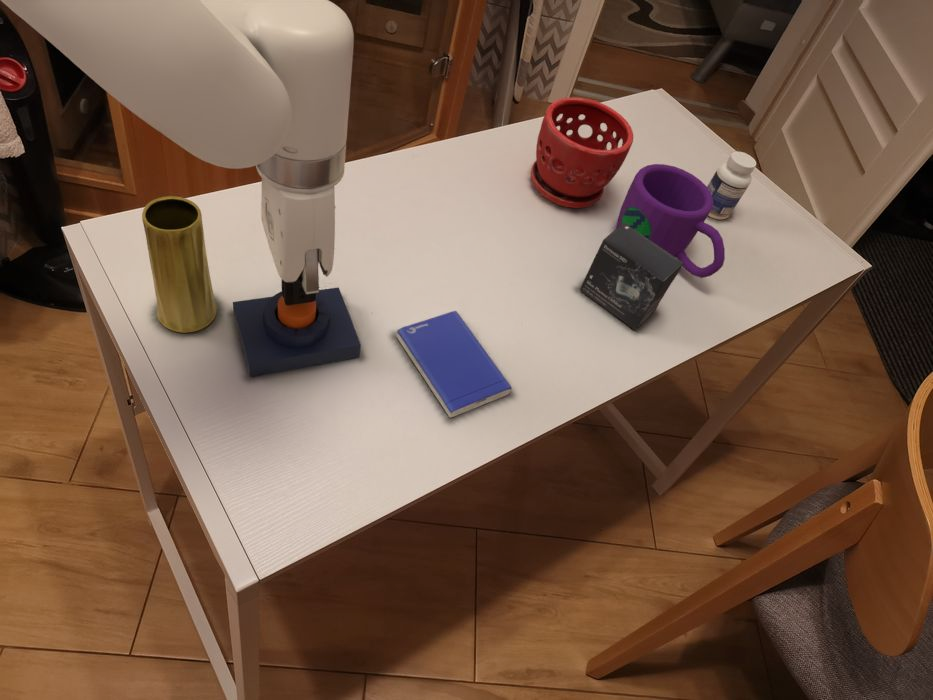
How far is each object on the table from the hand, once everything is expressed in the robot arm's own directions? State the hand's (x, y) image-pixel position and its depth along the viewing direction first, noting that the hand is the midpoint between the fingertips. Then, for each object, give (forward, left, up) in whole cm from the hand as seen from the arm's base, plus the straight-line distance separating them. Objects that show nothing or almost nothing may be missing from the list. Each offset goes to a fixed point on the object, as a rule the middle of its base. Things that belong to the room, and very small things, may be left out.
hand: (298, 298), depth 72 cm
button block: (0, 0, -6) cm, 6 cm away
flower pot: (+46, +20, -6) cm, 50 cm away
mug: (+54, +4, -6) cm, 54 cm away
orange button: (0, 0, -3) cm, 3 cm away
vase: (-11, +6, -6) cm, 14 cm away
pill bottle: (+70, +12, -6) cm, 71 cm away
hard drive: (+16, -8, -6) cm, 19 cm away
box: (+42, -3, -6) cm, 42 cm away
